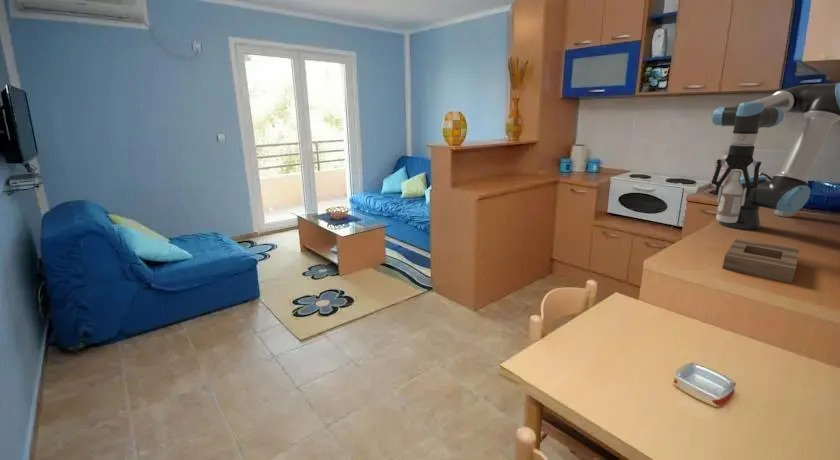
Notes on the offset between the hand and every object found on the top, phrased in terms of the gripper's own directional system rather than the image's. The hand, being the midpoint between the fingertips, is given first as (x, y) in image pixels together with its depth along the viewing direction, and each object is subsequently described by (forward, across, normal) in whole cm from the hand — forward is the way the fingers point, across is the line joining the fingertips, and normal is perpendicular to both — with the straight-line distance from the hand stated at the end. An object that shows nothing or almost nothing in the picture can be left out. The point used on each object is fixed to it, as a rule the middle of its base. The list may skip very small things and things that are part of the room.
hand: (729, 203), depth 160 cm
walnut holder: (+16, +14, -20) cm, 30 cm away
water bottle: (+18, +14, +71) cm, 74 cm away
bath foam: (+7, 0, 0) cm, 7 cm away
